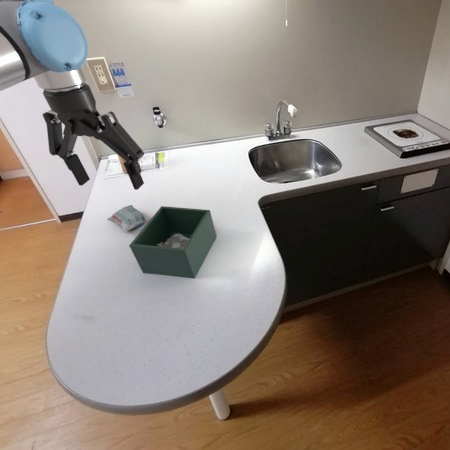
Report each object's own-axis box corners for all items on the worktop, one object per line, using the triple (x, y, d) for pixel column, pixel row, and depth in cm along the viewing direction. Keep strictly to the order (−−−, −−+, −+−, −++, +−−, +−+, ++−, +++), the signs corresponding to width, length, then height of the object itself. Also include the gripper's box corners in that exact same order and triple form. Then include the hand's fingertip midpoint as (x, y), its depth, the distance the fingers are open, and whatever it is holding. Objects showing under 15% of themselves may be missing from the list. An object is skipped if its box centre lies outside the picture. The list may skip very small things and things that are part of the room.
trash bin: (142, 272, 87) (128, 245, 80) (171, 232, 100) (161, 206, 94) (194, 278, 85) (185, 251, 78) (216, 236, 99) (209, 209, 92)
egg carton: (158, 253, 92) (154, 243, 89) (178, 239, 97) (175, 229, 94) (182, 267, 87) (179, 257, 85) (202, 251, 92) (199, 241, 90)
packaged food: (126, 237, 99) (120, 225, 96) (108, 223, 104) (102, 211, 101) (151, 224, 104) (146, 212, 101) (133, 211, 110) (128, 200, 107)
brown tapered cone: (141, 168, 135) (128, 168, 135) (128, 127, 125) (113, 127, 126) (134, 174, 129) (120, 174, 130) (119, 130, 120) (104, 131, 120)
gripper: (138, 82, 58) (170, 179, 71) (22, 78, 60) (74, 172, 74) (115, 94, 52) (154, 197, 66) (-13, 90, 55) (50, 189, 68)
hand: (111, 184), depth 70 cm, fingers open, 13 cm apart
